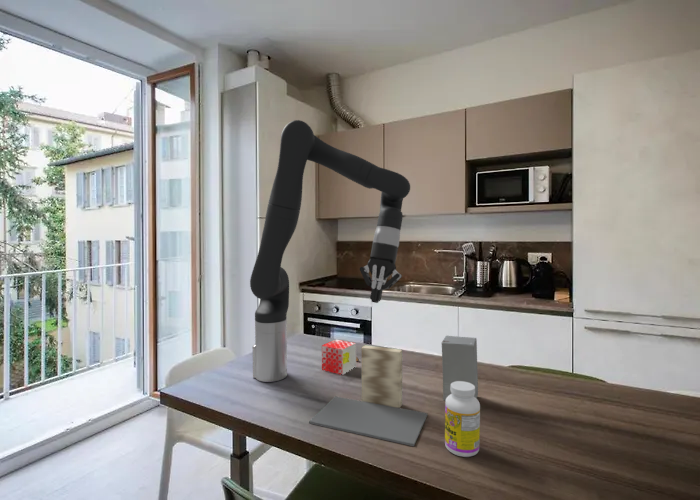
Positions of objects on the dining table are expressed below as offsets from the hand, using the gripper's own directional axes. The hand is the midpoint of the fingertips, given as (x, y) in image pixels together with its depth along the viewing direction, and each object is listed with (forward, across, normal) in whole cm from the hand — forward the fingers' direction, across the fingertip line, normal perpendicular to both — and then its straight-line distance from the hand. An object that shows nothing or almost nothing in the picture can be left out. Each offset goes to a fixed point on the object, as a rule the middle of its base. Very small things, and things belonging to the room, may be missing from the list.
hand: (374, 302), depth 108 cm
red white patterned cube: (+24, -11, +9) cm, 28 cm away
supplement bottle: (+24, +31, -21) cm, 44 cm away
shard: (+22, -13, +20) cm, 33 cm away
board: (+24, +10, -9) cm, 27 cm away
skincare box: (+20, +27, +2) cm, 34 cm away
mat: (+25, +10, -17) cm, 32 cm away
